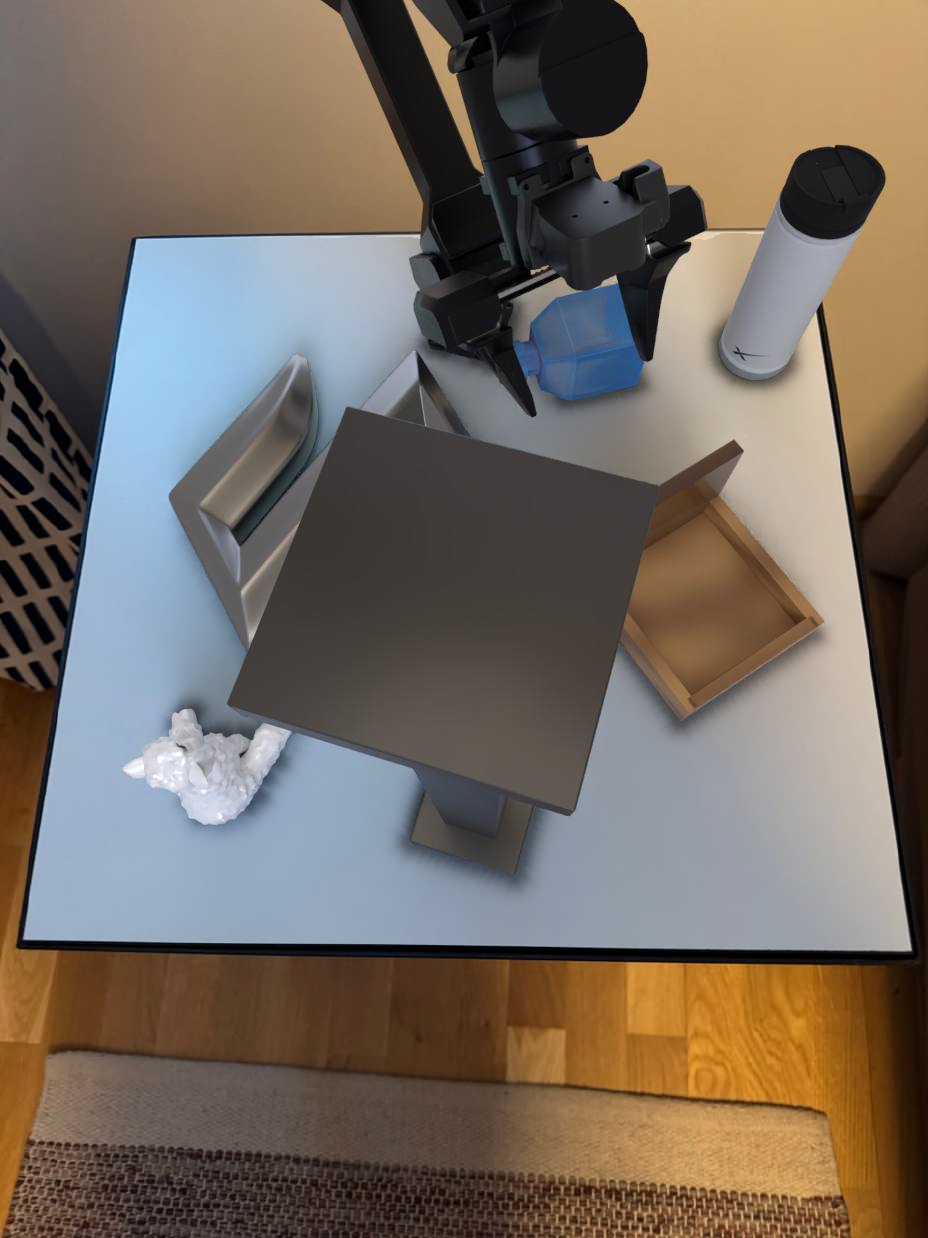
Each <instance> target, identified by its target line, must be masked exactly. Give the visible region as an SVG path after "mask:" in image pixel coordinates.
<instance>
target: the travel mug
mask: <svg viewBox="0 0 928 1238" xmlns="http://www.w3.org/2000/svg"><path fill="white" fill-rule="evenodd" d="M886 180H887V177H886V172H885V170H884V167H883V165H882V164H881V162H879V160H878V159H877V158H876V157H875V156H873V155H872V154H871V153H869V152H867V151H865V150H863V149H861V148H858V147H856V146H852V145H849V144H835V145H834V146H830V145H829V146H821V147H817V148H816V147H815V148H813V149H807V150H806V151H804V152H801V153H799V155H797V157H796V158H795V159H794V161H793V163H792V166H791V167H790V170H789V173H788V175H787V177H786V180H785V183H784V184H783V187H782V188H781V190H780V193H779V195H778V197H777V200H776V202H775V204H774V207H773V210H772V211H771V214H770V216H769V219H768V222H767V224H766V227H765V228H764V232H763V234H762V237H761V239H760V241H759V244H758V246H757V248H756V251H755V254H754V255H753V259H752V260H751V263H750V266H749V268H748V270H747V273H746V275H745V277H744V280H743V283H742V285H741V287H740V289H739V292H738V295H737V297H736V299H735V302H734V304H733V306H732V309H731V312H730V314H729V317H728V319H727V321H726V324H725V326H724V329H723V331H722V334H721V335H720V339H719V342H718V353H719V354H718V355H719V357H720V359H721V362H722V363H723V364H724V366H725V367H726V368H727V369H728V370H729V371H730V372H731V373H732V374H734V375H735V376H737V377H740V378H742V379H745V380H750V381H763V380H767V379H771V378H774V377H775V376H778V375H779V374H781V372H783V370H784V369H785V368H786V367H787V365H788V363H789V361H790V359H791V358H792V356H793V354H794V353H795V350H796V349H797V347H798V345H799V343H800V341H801V339H802V338H803V336H804V334H805V333H806V331H807V329H808V327H809V325H810V323H811V322H812V320H813V318H814V316H815V314H816V312H817V311H818V309H819V307H820V306H821V304H822V302H823V300H824V298H825V296H826V294H827V292H828V291H829V289H830V288H831V285H832V283H833V282H834V280H835V278H836V276H837V275H838V272H839V271H840V270H841V268H842V266H843V264H844V261H845V260H846V258H847V257H848V255H849V253H850V252H851V250H852V248H853V246H854V244H855V242H856V240H857V238H858V237H859V235H860V233H861V231H862V229H863V228H864V226H865V225H866V222H867V220H868V218H869V215H870V213H871V212H872V210H873V209H874V206H875V205H876V203H877V201H878V199H879V197H880V195H881V193H882V192H883V190H884V188H885V186H886V182H887V181H886Z"/></svg>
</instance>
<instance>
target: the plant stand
mask: <svg viewBox="0 0 928 1238" xmlns="http://www.w3.org/2000/svg"><path fill="white" fill-rule="evenodd" d="M333 437H334V439H333V438H332V439H333V441H332V444H331V446H330V449H329V451H328V454H327V456H326V459H325V461H324V464H323V466H322V469H321V471H320V474H319V476H318V479H317V481H316V484H315V486H314V489H313V491H312V493H311V496H310V498H309V501H308V503H307V506H306V508H305V511H304V513H303V516H302V518H301V521H300V523H299V526H298V528H297V531H296V533H295V536H294V538H293V541H292V543H291V546H290V548H289V550H288V553H287V555H286V558H285V560H284V563H283V565H282V568H281V570H280V573H279V575H278V578H277V580H276V583H275V585H274V588H273V590H272V593H271V595H270V598H269V600H268V603H267V605H266V608H265V610H264V612H263V615H262V617H261V620H260V622H259V625H258V627H257V630H256V632H255V635H254V637H253V640H252V642H251V645H250V647H249V650H248V652H247V651H246V655H245V657H244V660H243V662H242V664H241V667H240V670H239V672H238V674H237V677H236V680H235V682H234V684H233V687H232V689H231V692H230V694H229V697H228V700H227V702H226V705H227V706H228V707H229V708H230V709H232V711H234V712H235V713H237V714H238V715H240V716H242V718H247V719H249V720H253V721H255V722H259V723H262V724H263V723H266V724H269V725H272V726H276V727H279V728H282V729H285V730H289V731H292V733H295V734H299V735H301V736H305V737H308V738H312V739H315V740H318V741H322V742H325V743H328V744H331V745H334V746H338V747H340V748H344V749H348V750H351V751H355V752H358V753H360V754H364V755H366V756H370V757H374V758H377V759H380V760H383V761H385V762H386V761H387V762H390V763H392V764H396V765H399V766H402V767H406V768H409V769H412V770H413V772H414V773H415V775H416V777H417V779H418V780H419V782H420V784H421V785H422V787H423V789H424V793H423V797H422V800H421V804H420V807H419V810H418V813H417V816H416V819H415V821H414V825H413V828H412V832H411V835H410V838H409V842H410V843H411V844H414V845H416V846H417V845H418V846H419V847H424V848H427V849H430V850H433V851H436V852H440V853H443V854H444V855H445V854H446V855H449V856H451V857H455V858H458V859H461V860H464V861H467V862H470V863H471V862H472V863H474V864H478V865H480V866H483V867H485V868H486V867H487V868H490V869H492V870H496V871H499V872H502V873H505V874H508V875H511V876H515V875H516V871H517V868H518V864H519V862H520V857H521V854H522V850H523V846H524V843H525V839H526V836H527V831H528V829H529V825H530V821H531V817H532V814H533V810H534V807H537V808H540V809H543V810H546V811H549V812H552V813H556V814H559V815H563V816H565V817H571V816H572V815H573V814H574V812H576V810H577V807H578V803H579V798H580V796H581V791H582V788H583V784H584V780H585V775H586V771H587V768H588V764H589V760H590V757H591V754H592V753H591V752H592V749H593V745H594V742H595V737H596V735H597V730H598V726H599V723H600V718H601V715H602V710H603V707H604V703H605V698H606V696H607V691H608V687H609V683H610V680H611V676H612V672H613V668H614V664H615V661H616V656H617V653H618V649H619V645H620V643H621V642H620V638H621V634H622V630H623V626H624V622H625V619H626V615H627V611H628V607H629V603H630V599H631V596H632V592H633V588H634V584H635V580H636V576H637V572H638V569H639V565H640V561H641V557H642V553H643V549H644V546H645V542H646V538H647V534H648V530H649V526H650V523H651V519H652V515H653V511H654V507H655V503H656V500H657V496H658V492H659V488H660V487H659V485H658V484H655V483H651V482H647V481H643V480H639V479H635V478H631V477H627V476H623V475H621V474H620V475H619V474H617V473H616V474H615V473H613V472H608V471H603V470H600V469H596V468H592V467H588V466H584V465H580V464H576V463H572V462H568V461H564V460H561V459H557V458H553V457H549V456H546V455H541V454H537V453H533V452H529V451H525V450H522V449H517V448H513V447H510V446H506V445H502V444H498V443H494V442H491V441H487V440H482V439H478V438H474V437H472V436H471V437H467V436H463V435H459V434H455V433H451V432H447V431H443V430H439V429H435V428H432V427H428V426H424V425H420V424H416V423H412V422H408V421H404V420H400V419H396V418H392V417H388V416H384V415H380V414H377V413H373V412H369V411H365V410H361V409H359V408H357V407H353V406H348V405H347V406H346V407H345V409H344V412H343V414H342V417H341V419H340V422H339V424H338V427H337V429H336V432H335V434H334V436H333Z"/></svg>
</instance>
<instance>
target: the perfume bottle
mask: <svg viewBox="0 0 928 1238" xmlns="http://www.w3.org/2000/svg"><path fill="white" fill-rule="evenodd" d="M513 346H514V349H515V352H516V355H517V357H518V360H519V362H520V365H521V367H522V370H523V373H524V375H525V378H526V380H527V381H528V377H532V376H533V377H534V376H535V377H536V381H537V384H538V387H539V391H541V392H545V393H547V394H550V395H553V396H554V397H555V396H556V397H558V398H561V399H563V400H567V401H568V402H573V401H577V400H581V399H586V398H590V397H593V396H598V395H603V394H607V393H610V392H611V393H612V392H616V391H619V390H623V389H628V388H632V387H637V386H638V384H639V381H640V377H641V374H642V371H643V367H644V364H645V361H642V360H641V359H640V356H639V354H638V351H637V349H636V346H635V344H634V341H633V338H632V334H631V331H630V327H629V323H628V319H627V315H626V312H625V308H624V304H623V300H622V296H621V293H620V289H619V285H618V282H617V283H613V284H608V285H604V286H598V287H596V288H594V289H591V290H587V291H578V292H573V293H569V294H564V295H560V296H556V297H555V298H554V299H553V300H552V301H550V303H548V305H546V307H544V308H543V309H542V311H541V312H540V313H539V314H538V315H537V316H536V317H535V318H534V319H533V320H532V321H530V323H529V334H528V340H526V341H522V342H521V340H520V339H513ZM498 382H499V384H500V385H503V384H502V383H501V382H500V380H499V379H498Z"/></svg>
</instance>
